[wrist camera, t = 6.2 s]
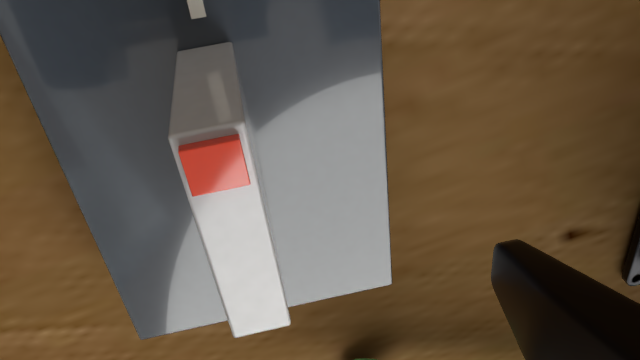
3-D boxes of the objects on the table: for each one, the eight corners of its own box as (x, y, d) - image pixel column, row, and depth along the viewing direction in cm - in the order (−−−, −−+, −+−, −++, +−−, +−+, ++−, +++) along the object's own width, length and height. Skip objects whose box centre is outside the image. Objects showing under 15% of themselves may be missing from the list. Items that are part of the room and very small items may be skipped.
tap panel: (370, 233, 21) (394, 288, 19) (147, 280, 21) (139, 345, 18) (341, -183, 14) (374, -188, 11) (-23, -135, 13) (-80, -128, 10)
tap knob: (271, 213, 16) (293, 333, 12) (225, 223, 16) (233, 348, 12) (232, 40, 13) (245, 127, 9) (175, 50, 13) (165, 143, 9)
